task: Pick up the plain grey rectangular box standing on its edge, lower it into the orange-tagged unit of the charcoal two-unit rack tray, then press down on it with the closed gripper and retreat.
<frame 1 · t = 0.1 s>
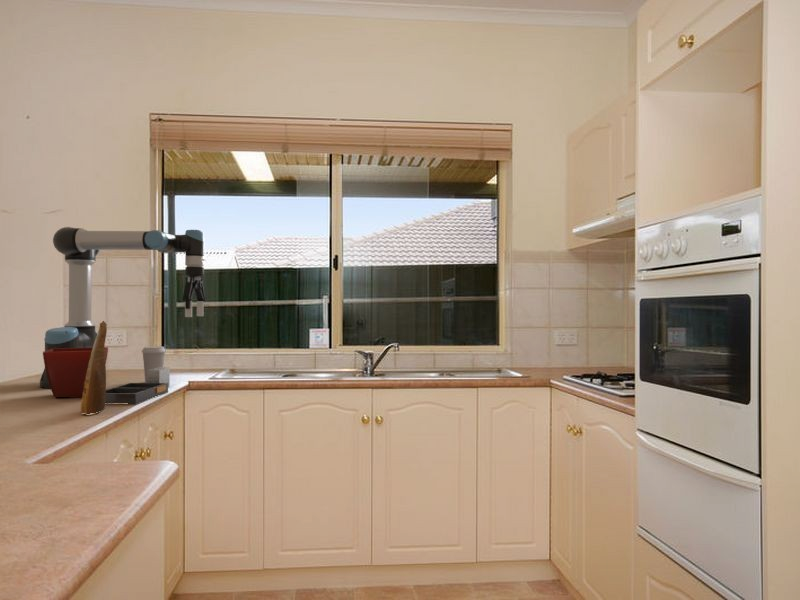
hand: (194, 316, 260), 28 cm above the countertop, tool pointing down, fingers open, 13 cm apart
plant pot: (76, 396, 223), on the countertop
coffee cup: (153, 382, 260), on the countertop
rack tray: (132, 397, 218), on the countertop
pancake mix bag: (95, 412, 191), on the countertop
plain grey rectangular box: (158, 389, 241), on the countertop
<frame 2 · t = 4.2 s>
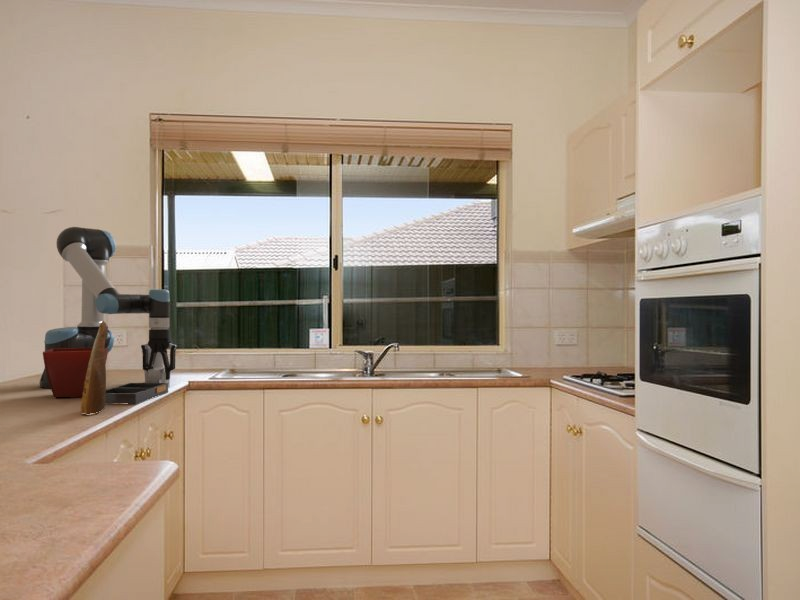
hand: (158, 388, 241), 0 cm above the countertop, tool pointing down, fingers closed on plain grey rectangular box, 4 cm apart
plain grey rectangular box: (158, 388, 241), on the countertop, touching gripper
everything else where it was.
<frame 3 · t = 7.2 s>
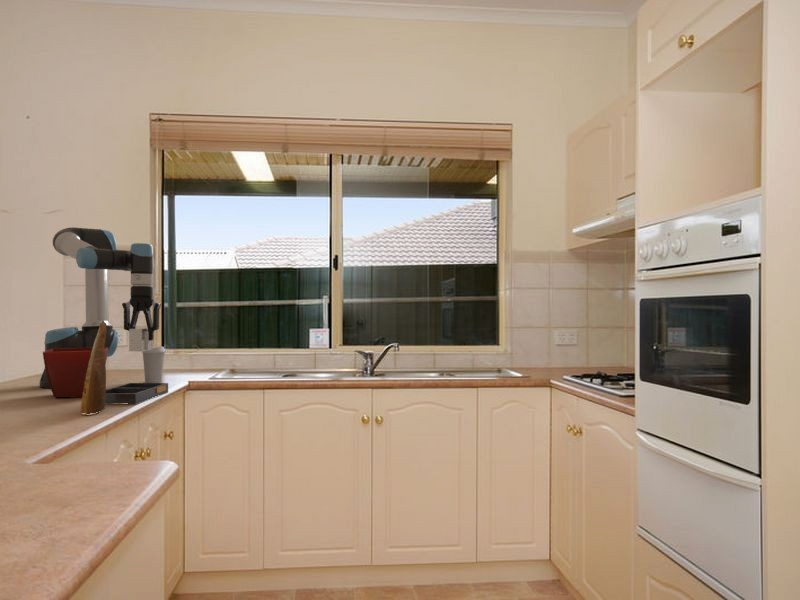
hand: (141, 349, 225), 17 cm above the countertop, tool pointing down, fingers closed on plain grey rectangular box, 4 cm apart
plain grey rectangular box: (141, 350, 225), point 16 cm above the countertop, touching gripper
everything else where it was.
when the fingers open (2 cm above the countertop, at t = 10.5 s): plain grey rectangular box stays where it is, resting on rack tray.
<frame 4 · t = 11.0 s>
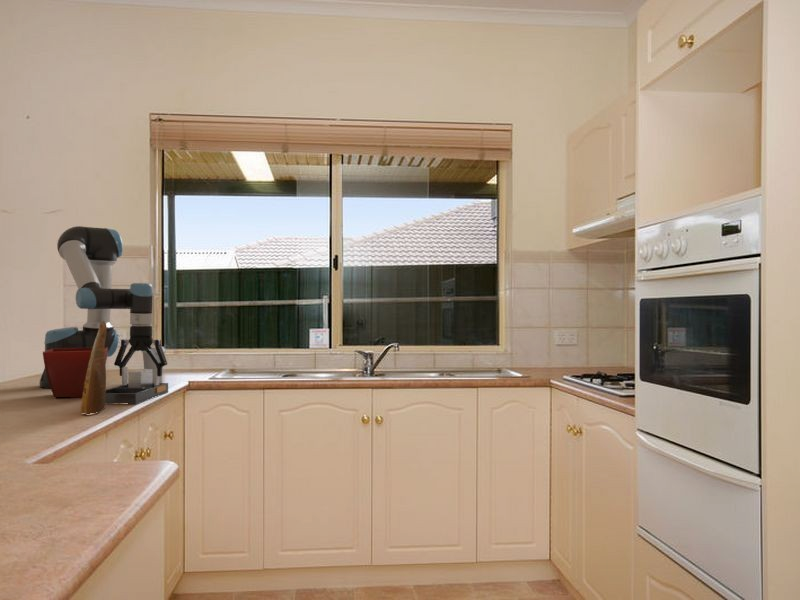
hand: (140, 385, 225), 4 cm above the countertop, tool pointing down, fingers open, 11 cm apart
plain grey rectangular box: (140, 392, 225), point 1 cm above the countertop, touching rack tray
everything else where it was.
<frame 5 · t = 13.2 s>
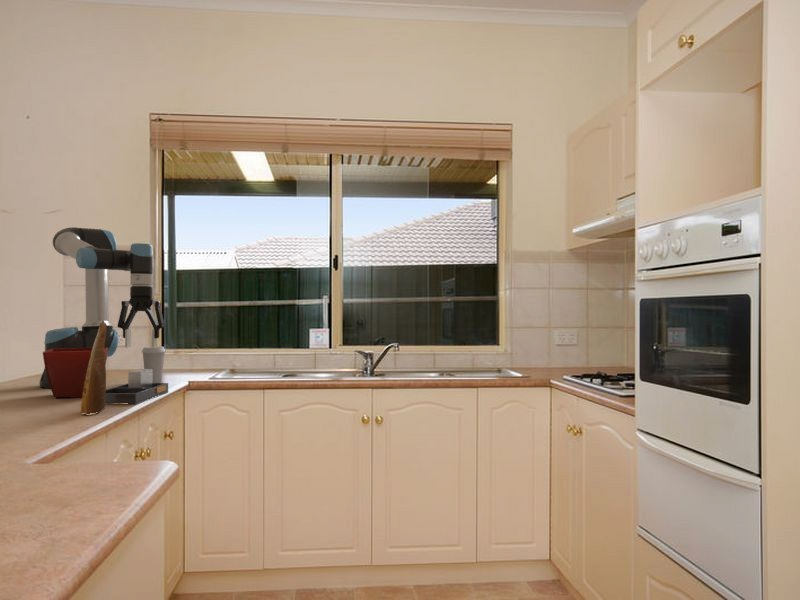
hand: (141, 347, 225), 17 cm above the countertop, tool pointing down, fingers open, 9 cm apart
nothing on the countertop moved.
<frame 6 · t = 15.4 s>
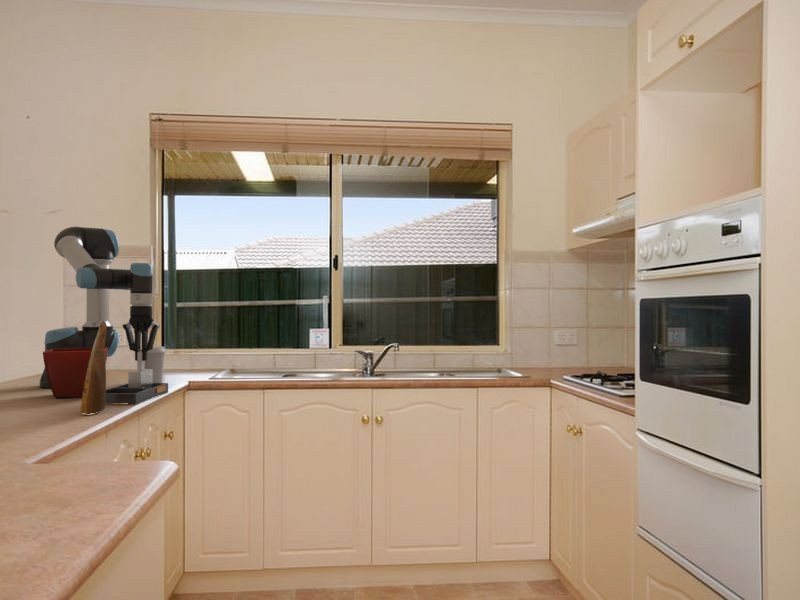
hand: (140, 369, 225), 9 cm above the countertop, tool pointing down, fingers closed
plain grey rectangular box: (140, 392, 225), point 1 cm above the countertop, touching gripper, rack tray
everything else where it was.
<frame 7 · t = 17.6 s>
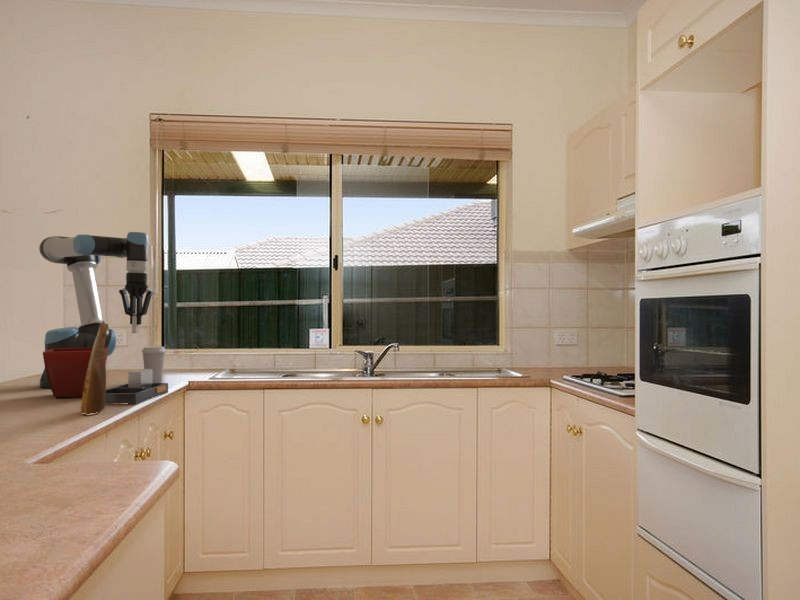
hand: (135, 333, 238), 22 cm above the countertop, tool pointing down, fingers closed
plain grey rectangular box: (140, 392, 225), point 1 cm above the countertop, touching rack tray
everything else where it was.
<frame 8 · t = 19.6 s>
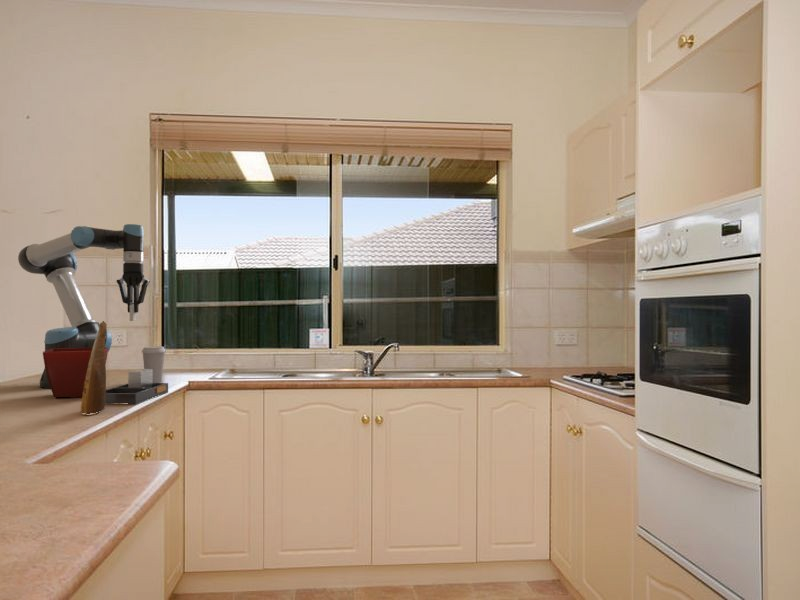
hand: (132, 320, 249), 26 cm above the countertop, tool pointing down, fingers closed
nothing on the countertop moved.
at the end: plain grey rectangular box 0.0 cm from the target spot on the rack tray, point 1.0 cm above the rack tray's base; plain grey rectangular box tilted 0°; the gripper is holding nothing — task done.
